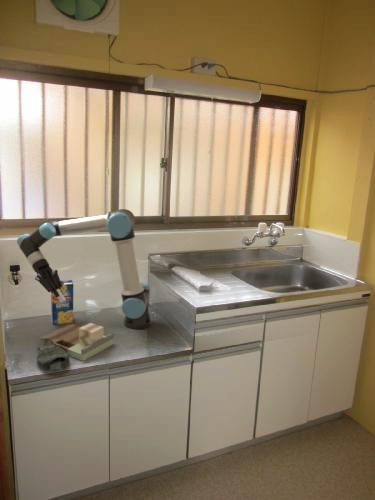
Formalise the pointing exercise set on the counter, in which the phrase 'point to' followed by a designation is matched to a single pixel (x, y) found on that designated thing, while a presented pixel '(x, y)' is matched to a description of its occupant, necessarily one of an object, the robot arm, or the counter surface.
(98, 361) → the counter surface
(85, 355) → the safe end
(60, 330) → the box
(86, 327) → the birch block
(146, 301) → the robot arm
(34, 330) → the counter surface
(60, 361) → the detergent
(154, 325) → the counter surface
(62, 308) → the beverage box
